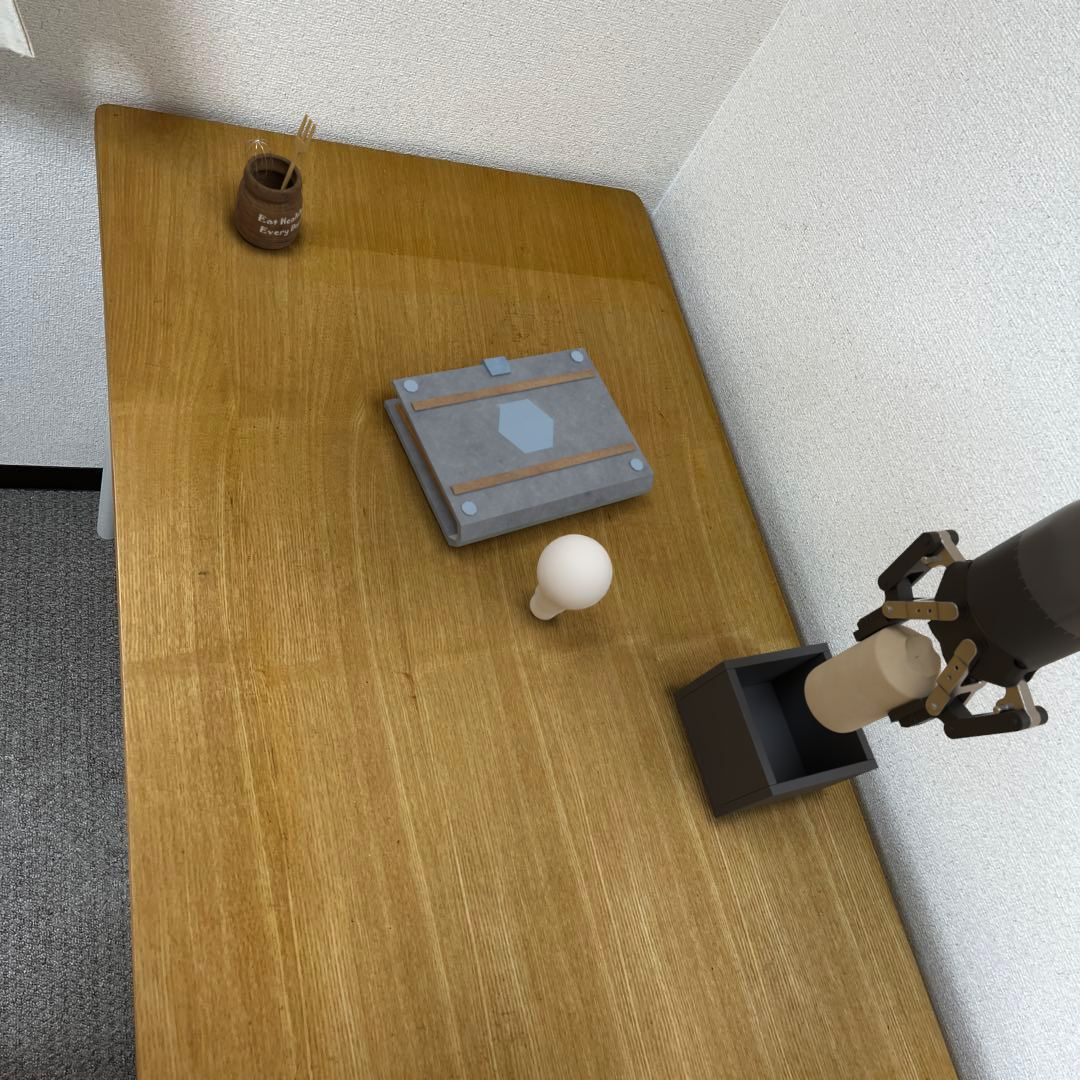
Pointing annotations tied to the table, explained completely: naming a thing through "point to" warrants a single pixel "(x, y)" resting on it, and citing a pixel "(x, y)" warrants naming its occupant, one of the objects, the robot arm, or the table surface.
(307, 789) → the table surface
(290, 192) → the utensil holder
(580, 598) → the lightbulb
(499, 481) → the book
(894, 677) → the candle
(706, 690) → the bin
